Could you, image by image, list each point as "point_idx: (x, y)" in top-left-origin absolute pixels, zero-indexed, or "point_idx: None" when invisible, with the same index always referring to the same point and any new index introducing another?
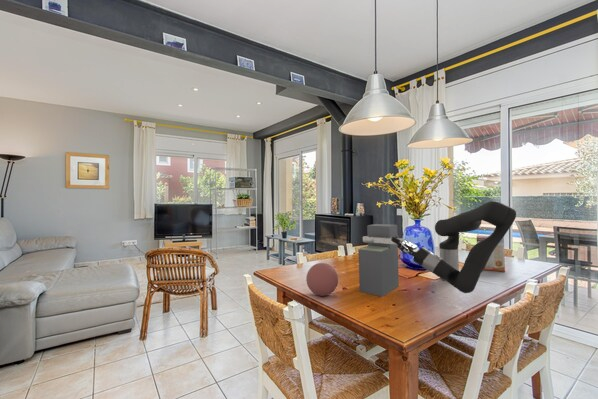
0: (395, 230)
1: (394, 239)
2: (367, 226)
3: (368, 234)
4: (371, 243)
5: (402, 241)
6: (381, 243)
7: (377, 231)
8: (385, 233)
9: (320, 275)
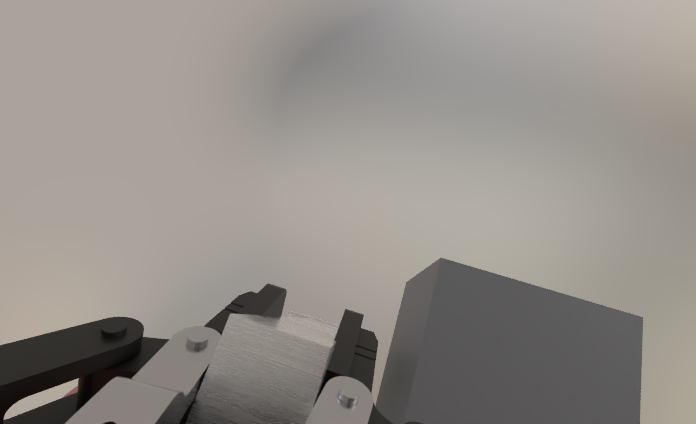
0: (588, 359)
1: (232, 306)
2: (405, 287)
3: (393, 336)
4: (380, 402)
5: (219, 353)
6: (388, 417)
7: (408, 313)
8: (416, 325)
9: (63, 397)
